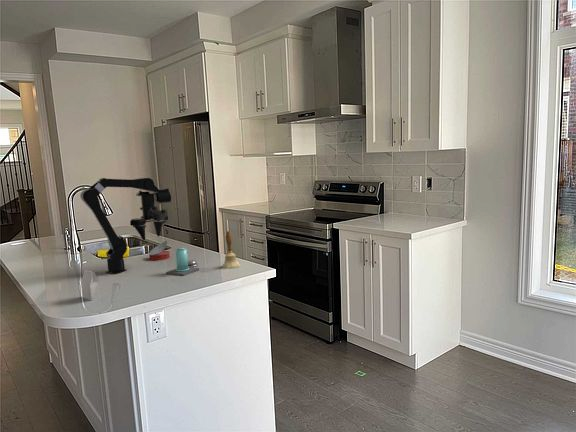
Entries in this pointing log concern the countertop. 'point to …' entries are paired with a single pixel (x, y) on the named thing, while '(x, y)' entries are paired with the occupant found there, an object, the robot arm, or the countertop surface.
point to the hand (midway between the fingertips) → (151, 237)
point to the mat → (174, 272)
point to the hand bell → (230, 254)
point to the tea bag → (90, 286)
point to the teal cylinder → (181, 260)
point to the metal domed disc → (192, 263)
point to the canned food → (159, 252)
